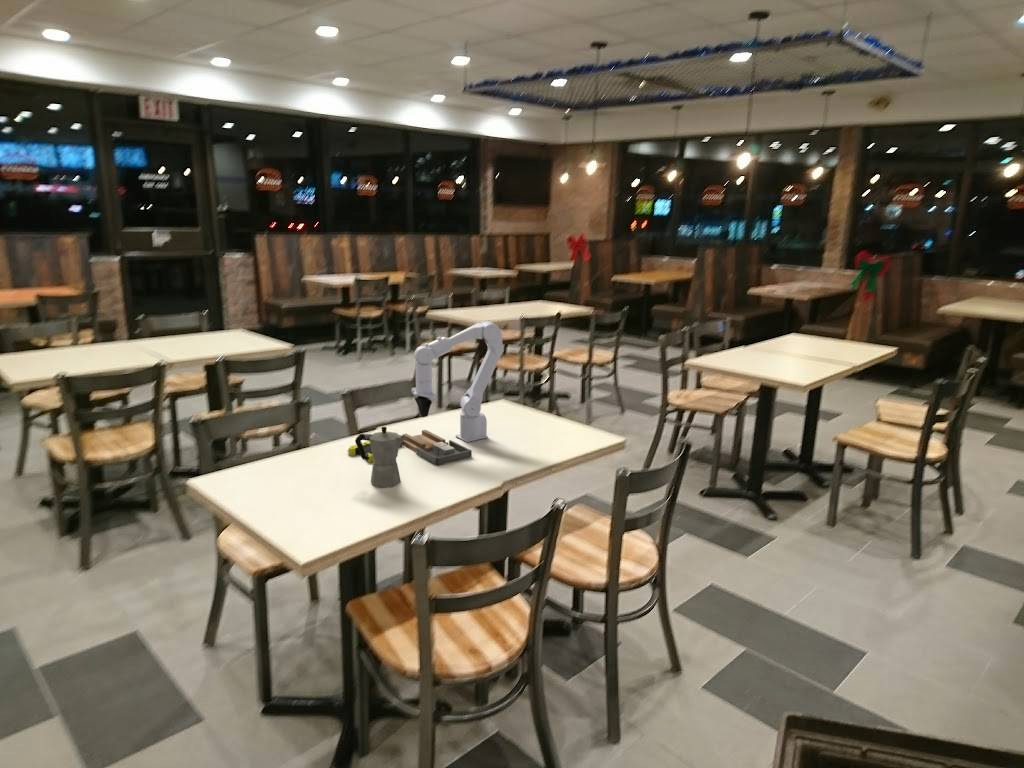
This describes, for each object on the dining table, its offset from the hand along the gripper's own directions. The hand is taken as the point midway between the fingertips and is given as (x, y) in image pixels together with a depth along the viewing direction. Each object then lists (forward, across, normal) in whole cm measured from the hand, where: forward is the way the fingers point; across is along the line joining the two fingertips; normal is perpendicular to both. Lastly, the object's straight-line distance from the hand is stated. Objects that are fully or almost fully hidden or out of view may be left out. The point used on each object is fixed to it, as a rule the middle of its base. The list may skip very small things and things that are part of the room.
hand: (424, 416), depth 241 cm
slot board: (+9, +4, -3) cm, 10 cm away
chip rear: (+9, +15, -3) cm, 17 cm away
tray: (+9, +17, -3) cm, 20 cm away
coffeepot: (+10, +26, -31) cm, 42 cm away
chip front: (+9, +19, -3) cm, 21 cm away
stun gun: (+10, +1, -19) cm, 21 cm away
